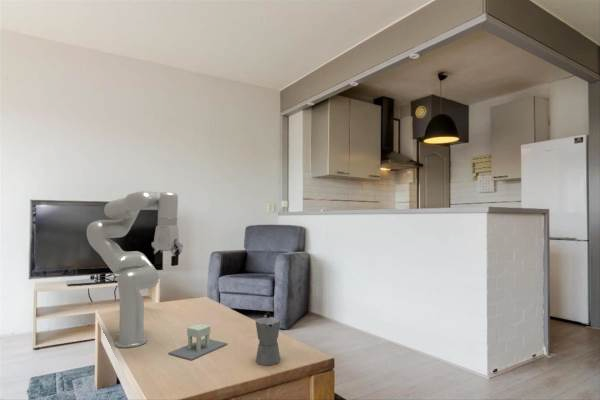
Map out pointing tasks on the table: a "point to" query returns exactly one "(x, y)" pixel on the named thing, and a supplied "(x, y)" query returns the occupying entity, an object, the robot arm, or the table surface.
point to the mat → (193, 354)
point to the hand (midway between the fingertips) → (166, 264)
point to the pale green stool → (198, 335)
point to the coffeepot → (268, 340)
